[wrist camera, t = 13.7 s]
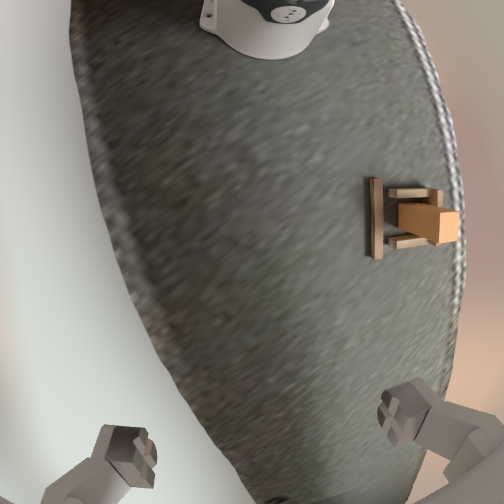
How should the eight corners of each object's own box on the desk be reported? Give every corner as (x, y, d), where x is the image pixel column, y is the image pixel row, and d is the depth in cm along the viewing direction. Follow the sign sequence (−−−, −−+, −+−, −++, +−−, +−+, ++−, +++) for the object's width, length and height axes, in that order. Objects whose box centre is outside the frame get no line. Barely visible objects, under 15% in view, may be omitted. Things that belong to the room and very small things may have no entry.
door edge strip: (369, 178, 38) (373, 178, 37) (378, 178, 38) (382, 178, 37) (370, 257, 41) (374, 259, 40) (378, 256, 41) (382, 258, 40)
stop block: (398, 203, 39) (440, 213, 30) (416, 202, 40) (458, 211, 30) (398, 228, 40) (438, 243, 31) (416, 226, 41) (457, 240, 31)
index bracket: (387, 188, 38) (402, 190, 35) (427, 187, 39) (442, 190, 35) (388, 245, 41) (402, 251, 37) (426, 239, 41) (440, 245, 38)
